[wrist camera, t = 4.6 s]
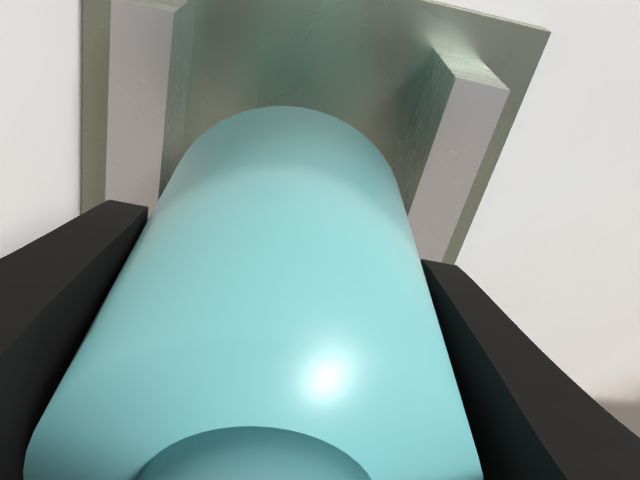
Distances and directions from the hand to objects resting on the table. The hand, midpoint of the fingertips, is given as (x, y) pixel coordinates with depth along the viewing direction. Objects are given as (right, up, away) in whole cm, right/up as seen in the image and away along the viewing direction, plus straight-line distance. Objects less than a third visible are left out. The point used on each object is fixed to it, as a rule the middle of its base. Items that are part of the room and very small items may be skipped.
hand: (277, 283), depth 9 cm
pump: (0, +1, +1) cm, 2 cm away
